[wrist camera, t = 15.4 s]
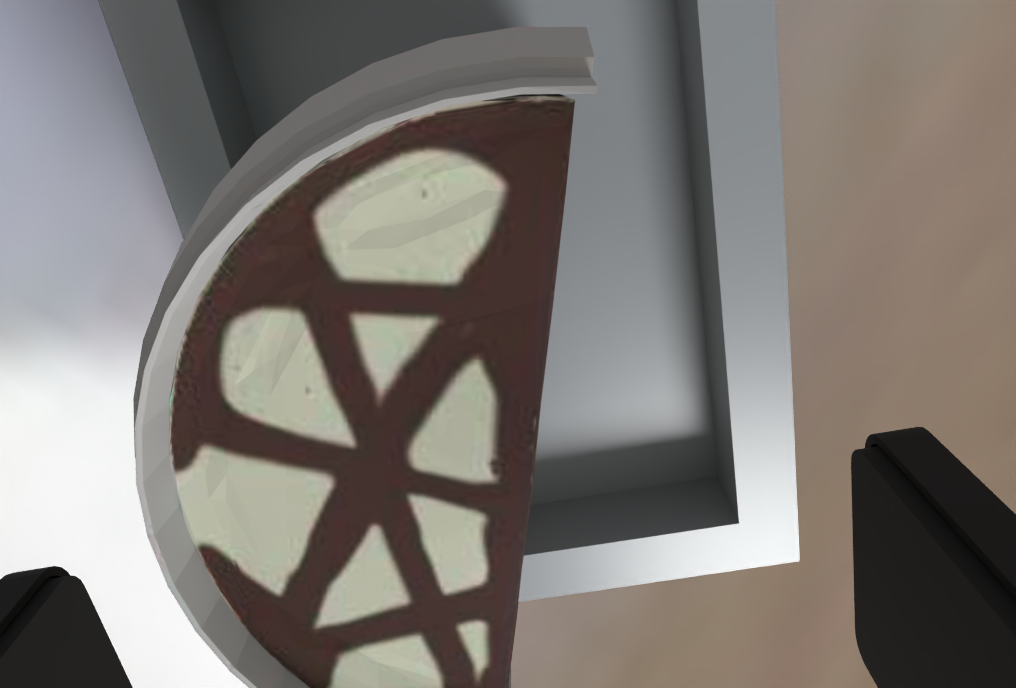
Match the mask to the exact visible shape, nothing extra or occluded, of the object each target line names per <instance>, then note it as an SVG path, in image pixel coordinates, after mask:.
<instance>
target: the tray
mask: <svg viewBox="0 0 1016 688" xmlns="http://www.w3.org/2000/svg"><path fill="white" fill-rule="evenodd" d="M98 1H99V4H100V7H101V10H102V12H103V15H104V18H105V21H106V23H107V26H108V29H109V32H110V35H111V37H112V40H113V43H114V46H115V49H116V51H117V54H118V57H119V60H120V63H121V65H122V68H123V71H124V74H125V77H126V79H127V82H128V85H129V88H130V90H131V93H132V96H133V99H134V102H135V104H136V107H137V110H138V113H139V116H140V118H141V121H142V124H143V127H144V130H145V132H146V135H147V138H148V141H149V143H150V146H151V149H152V152H153V155H154V157H155V160H156V163H157V166H158V169H159V171H160V174H161V177H162V180H163V183H164V185H165V188H166V191H167V194H168V197H169V199H170V202H171V205H172V208H173V210H174V213H175V216H176V219H177V222H178V224H179V227H180V230H181V233H182V236H183V238H184V239H185V237H186V236H187V234H188V232H189V230H190V229H191V227H192V225H193V224H194V222H195V220H196V219H197V217H198V215H199V214H200V212H201V210H202V209H203V207H204V205H205V204H206V202H207V200H208V198H209V197H210V195H211V193H212V192H213V190H214V189H215V188H216V186H217V185H218V184H219V183H220V182H221V181H222V179H223V178H224V177H225V176H226V175H227V174H228V173H229V171H230V170H231V169H232V168H233V167H234V166H235V165H236V163H237V162H238V161H239V160H240V159H241V158H242V157H243V155H244V154H245V153H246V152H247V151H248V150H249V149H250V147H251V146H252V145H253V144H254V143H255V142H256V140H258V139H259V138H260V137H261V136H263V135H264V134H265V133H266V132H268V131H269V130H270V129H271V128H273V127H274V126H275V125H276V124H278V123H279V122H280V121H281V120H283V119H284V118H285V117H286V116H288V115H289V114H290V113H291V112H293V111H294V110H295V109H296V108H298V107H299V106H300V105H301V104H303V103H304V102H305V101H306V100H308V99H309V98H310V97H312V96H314V95H315V94H317V93H319V92H321V91H323V90H325V89H326V88H328V87H330V86H332V85H334V84H335V83H337V82H339V81H341V80H343V79H345V78H346V77H348V76H350V75H352V74H354V73H356V72H357V71H359V70H361V69H363V68H365V67H366V66H368V65H370V64H372V63H375V62H377V61H380V60H383V59H386V58H389V57H392V56H395V55H398V54H401V53H404V52H406V51H409V50H412V49H415V48H418V47H421V46H424V45H427V44H430V43H433V42H435V41H438V40H441V39H447V38H453V37H459V36H465V35H471V34H477V33H483V32H489V31H495V30H501V29H507V28H513V27H586V28H587V31H588V35H589V39H590V43H591V46H592V50H593V54H594V64H593V72H592V78H593V80H594V81H595V83H596V84H597V93H596V94H561V95H564V96H566V97H569V98H571V99H574V100H575V106H574V116H573V126H572V136H571V146H570V156H569V166H568V176H567V186H566V196H565V204H564V213H563V222H562V231H561V240H560V248H559V257H558V266H557V275H556V283H555V292H554V301H553V310H552V318H551V326H550V334H549V342H548V351H547V359H546V367H545V375H544V383H543V391H542V400H541V409H540V419H539V430H538V439H537V449H536V458H535V468H534V478H533V488H532V496H531V503H530V511H529V519H528V526H527V534H526V542H525V549H524V557H523V565H522V573H521V582H520V591H519V600H518V602H522V601H528V600H535V599H542V598H549V597H556V596H563V595H570V594H577V593H583V592H590V591H597V590H604V589H611V588H618V587H625V586H631V585H638V584H645V583H652V582H659V581H666V580H673V579H679V578H686V577H693V576H700V575H707V574H714V573H721V572H727V571H734V570H741V569H748V568H755V567H762V566H769V565H776V564H782V563H789V562H796V561H800V557H799V534H798V511H797V488H796V465H795V442H794V419H793V396H792V373H791V350H790V327H789V304H788V281H787V258H786V235H785V212H784V188H783V165H782V142H781V119H780V96H779V73H778V50H777V27H776V4H775V0H98Z"/></svg>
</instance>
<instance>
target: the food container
mask: <svg viewBox="0 0 1016 688" xmlns="http://www.w3.org/2000/svg"><path fill="white" fill-rule="evenodd" d="M593 64H594V54H593V50H592V46H591V43H590V39H589V35H588V31H587V28H586V27H513V28H507V29H501V30H495V31H489V32H483V33H477V34H471V35H465V36H459V37H453V38H447V39H441V40H438V41H435V42H433V43H430V44H427V45H424V46H421V47H418V48H415V49H412V50H409V51H406V52H404V53H401V54H398V55H395V56H392V57H389V58H386V59H383V60H380V61H377V62H375V63H372V64H370V65H368V66H366V67H365V68H363V69H361V70H359V71H357V72H356V73H354V74H352V75H350V76H348V77H346V78H345V79H343V80H341V81H339V82H337V83H335V84H334V85H332V86H330V87H328V88H326V89H325V90H323V91H321V92H319V93H317V94H315V95H314V96H312V97H310V98H309V99H308V100H306V101H305V102H304V103H303V104H301V105H300V106H299V107H298V108H296V109H295V110H294V111H293V112H291V113H290V114H289V115H288V116H286V117H285V118H284V119H283V120H281V121H280V122H279V123H278V124H276V125H275V126H274V127H273V128H271V129H270V130H269V131H268V132H266V133H265V134H264V135H263V136H261V137H260V138H259V139H258V140H256V142H255V143H254V144H253V145H252V146H251V147H250V149H249V150H248V151H247V152H246V153H245V154H244V155H243V157H242V158H241V159H240V160H239V161H238V162H237V163H236V165H235V166H234V167H233V168H232V169H231V170H230V171H229V173H228V174H227V175H226V176H225V177H224V178H223V179H222V181H221V182H220V183H219V184H218V185H217V186H216V188H215V189H214V190H213V192H212V193H211V195H210V197H209V198H208V200H207V202H206V204H205V205H204V207H203V209H202V210H201V212H200V214H199V215H198V217H197V219H196V220H195V222H194V224H193V225H192V227H191V229H190V230H189V232H188V234H187V236H186V237H185V239H184V241H183V242H182V244H181V246H180V249H179V251H178V253H177V255H176V258H175V260H174V262H173V264H172V267H171V269H170V271H169V273H168V276H167V278H166V280H165V282H164V285H163V288H162V291H161V293H160V296H159V299H158V301H157V304H156V307H155V310H154V312H153V315H152V318H151V320H150V323H149V326H148V329H147V331H146V334H145V337H144V339H143V344H142V350H141V357H140V363H139V369H138V375H137V381H136V387H135V393H134V439H135V458H136V484H137V489H138V494H139V498H140V503H141V507H142V512H143V517H144V521H145V526H146V531H147V535H148V539H149V541H150V544H151V546H152V548H153V551H154V553H155V556H156V558H157V561H158V563H159V565H160V568H161V570H162V573H163V575H164V578H165V580H166V583H167V585H168V587H169V589H170V590H171V592H172V594H173V595H174V597H175V599H176V600H177V602H178V603H179V605H180V607H181V608H182V610H183V611H184V613H185V615H186V616H187V618H188V619H189V621H190V623H191V624H192V626H193V628H194V629H195V631H196V632H197V633H198V634H199V636H200V637H201V638H202V639H203V640H204V641H205V643H206V644H207V645H208V646H209V647H210V648H211V650H212V651H213V652H214V653H215V654H216V655H217V657H218V658H219V659H220V660H221V661H222V662H223V664H224V665H225V666H226V667H227V668H228V669H229V671H230V672H231V673H233V674H234V675H235V676H236V677H237V678H238V679H240V680H241V681H242V682H243V683H244V684H245V685H246V686H248V687H249V688H511V659H512V651H513V643H514V635H515V627H516V619H517V610H518V600H519V591H520V582H521V573H522V565H523V557H524V549H525V542H526V534H527V526H528V519H529V511H530V503H531V496H532V488H533V478H534V468H535V458H536V449H537V439H538V430H539V419H540V409H541V400H542V391H543V383H544V375H545V367H546V359H547V351H548V342H549V334H550V326H551V318H552V310H553V301H554V292H555V283H556V275H557V266H558V257H559V248H560V240H561V231H562V222H563V213H564V204H565V196H566V186H567V176H568V166H569V156H570V146H571V136H572V126H573V116H574V106H575V100H574V99H571V98H569V97H566V96H564V95H561V94H596V93H597V84H596V83H595V81H594V80H593V78H592V72H593Z"/></svg>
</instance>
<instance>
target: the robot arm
mask: <svg viewBox="0 0 1016 688" xmlns="http://www.w3.org/2000/svg"><path fill="white" fill-rule="evenodd" d="M851 475H852V517H853V559H854V602H855V633H856V639H857V644H858V648H859V651H860V654H861V657H862V659H863V661H864V663H865V665H866V667H867V669H868V671H869V673H870V674H871V676H872V678H873V680H874V681H875V683H876V685H877V687H878V688H1016V514H1015V513H1014V512H1013V511H1012V510H1010V509H1009V508H1008V507H1007V506H1006V505H1005V504H1004V503H1003V502H1002V501H1001V500H1000V499H999V498H998V497H997V496H996V495H995V494H994V493H993V492H992V491H991V490H990V489H989V488H987V487H986V486H985V485H984V484H983V483H982V482H981V481H980V480H979V479H978V478H977V477H976V476H975V475H974V474H973V473H972V472H971V471H970V470H969V469H968V468H967V467H966V466H964V465H963V464H962V463H961V462H960V461H959V460H958V459H957V458H956V457H955V456H954V455H953V454H952V453H951V452H950V451H949V450H948V449H947V448H946V447H945V446H944V445H943V444H941V443H940V442H939V441H938V440H937V439H936V438H935V437H934V436H933V435H932V434H931V433H930V432H929V431H928V430H926V429H925V428H923V427H914V428H908V429H902V430H896V431H890V432H883V433H877V434H871V435H870V436H869V437H868V438H867V440H866V443H865V448H864V449H858V450H855V451H854V452H853V454H852V458H851ZM0 688H132V685H131V683H130V681H129V679H128V677H127V675H126V673H125V671H124V669H123V666H122V664H121V662H120V660H119V658H118V656H117V654H116V652H115V649H114V647H113V645H112V643H111V641H110V639H109V637H108V635H107V633H106V630H105V628H104V626H103V624H102V622H101V620H100V618H99V616H98V613H97V611H96V609H95V607H94V605H93V603H92V601H91V599H90V596H89V594H88V592H87V590H86V588H85V586H84V584H83V583H82V581H81V580H80V579H79V578H77V577H76V576H70V575H69V573H68V572H67V571H66V570H64V569H63V568H62V567H56V566H53V567H47V568H40V569H34V570H28V571H22V572H16V573H11V574H8V575H5V576H4V577H3V578H2V579H0Z"/></svg>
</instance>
